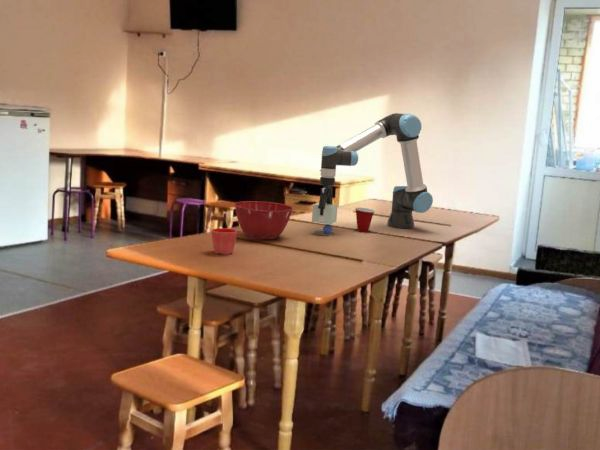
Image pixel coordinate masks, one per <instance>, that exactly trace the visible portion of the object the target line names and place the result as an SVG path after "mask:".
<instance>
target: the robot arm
mask: <svg viewBox="0 0 600 450" xmlns="http://www.w3.org/2000/svg"><path fill="white" fill-rule="evenodd" d="M421 131H422V122H421V120H420V119H419V117H418V116H417V115H414V114H411V113H399V112H398V113H397V112H396V113H391V114H388V115H387V116H385V117H383V118H380V119H379V120H377V121H376V122H374V125H372V126H371V127H369V128H367V129H365V130H363V131H362V132H360V133H358V134H357V135H354V136H353V137H351V138H349V139H346V141H343V143H342V142H341V143H340V144H338V145H337V146H333V145H332V146H331V145H324V146H323V147H322V150H321V164H320V165H321V166H320V170H319V172H320V178H319V184H320V185H322V186H323V187H322V188H321V187H320V195H319V201H318V203H319V206H318V209H320V210H319V222H324V218H325V204H326V203H327V204H333V188H334V187H333V186H335V184H336V174H337V172H336V171H337V166H344V167H346V166H347V167H351V166H352V167H353V166H354V167H355V166H356V165H357V164H358V161H359V153H358V151H360V150H362V149H363V148H365V147H367V146H369V145H370V144H372V143H374V142H376V141H377V140H380V139H381V138H382V139H385V138H386V137H389V136H396V137H395V138H396V142H397V143H399V144H400V149H401V154H402V161H403V168H404V173H405V174H404V175H405V178H406V179H405V180H406V185H395V186H394V187H393V191H392V200H391V201H392V202H391V212H390V214H389V217H388V220H387V223H386V225H387V227H390V228H395V229H396V228H397V229H414V228H415V220H414V217H413V212H415V213H417V214H418V213H421V214H422V213H423V214H424V213H426V212H428V211H429V210H430V209H431V207H432V205H433V201H434V199H433V195H432V194H431V193H430V192H428V189H427V188H428V187H427V185H426V184H424V178H423V174H422V168H421V167H422V166H421V162H420V154H419V148H418V139H419V138H420V136H419V135H420V133H421Z"/></svg>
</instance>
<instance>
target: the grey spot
mask: <svg viewBox="0 0 600 450" xmlns="http://www.w3.org/2000/svg"><path fill="white" fill-rule="evenodd" d="M313 232H314V235H319V236H333V235H334V233H333V232H332V233H330V234H325V233H324V231H323V230H320V231H319V230H317V231H313Z"/></svg>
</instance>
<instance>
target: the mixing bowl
mask: <svg viewBox="0 0 600 450" xmlns="http://www.w3.org/2000/svg"><path fill="white" fill-rule="evenodd" d="M233 204H234V209H235V214H236V218H237V221H238V224H239V228H240V229H241V230H242V232H243V233H244V234H245V235H246V236H247V237H248V238H250V237H251V238H250V239H254V238H256V239H255V240H263V239H269V240H274V238H275V239H276V238H278V237H279V236H280V235H281V234H282V233H283V231H284V230H285V228H286V227H287V226H288V222H289V221H290V219H291V215H292V211H293V209H294V207H293V206H291V205H290V204H289V205H288V204H284V203H278V202H270V201H255V200H253V201H252V200H249V201H248V200H246V201H243V200H242V201H237V202H234V203H233Z"/></svg>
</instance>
